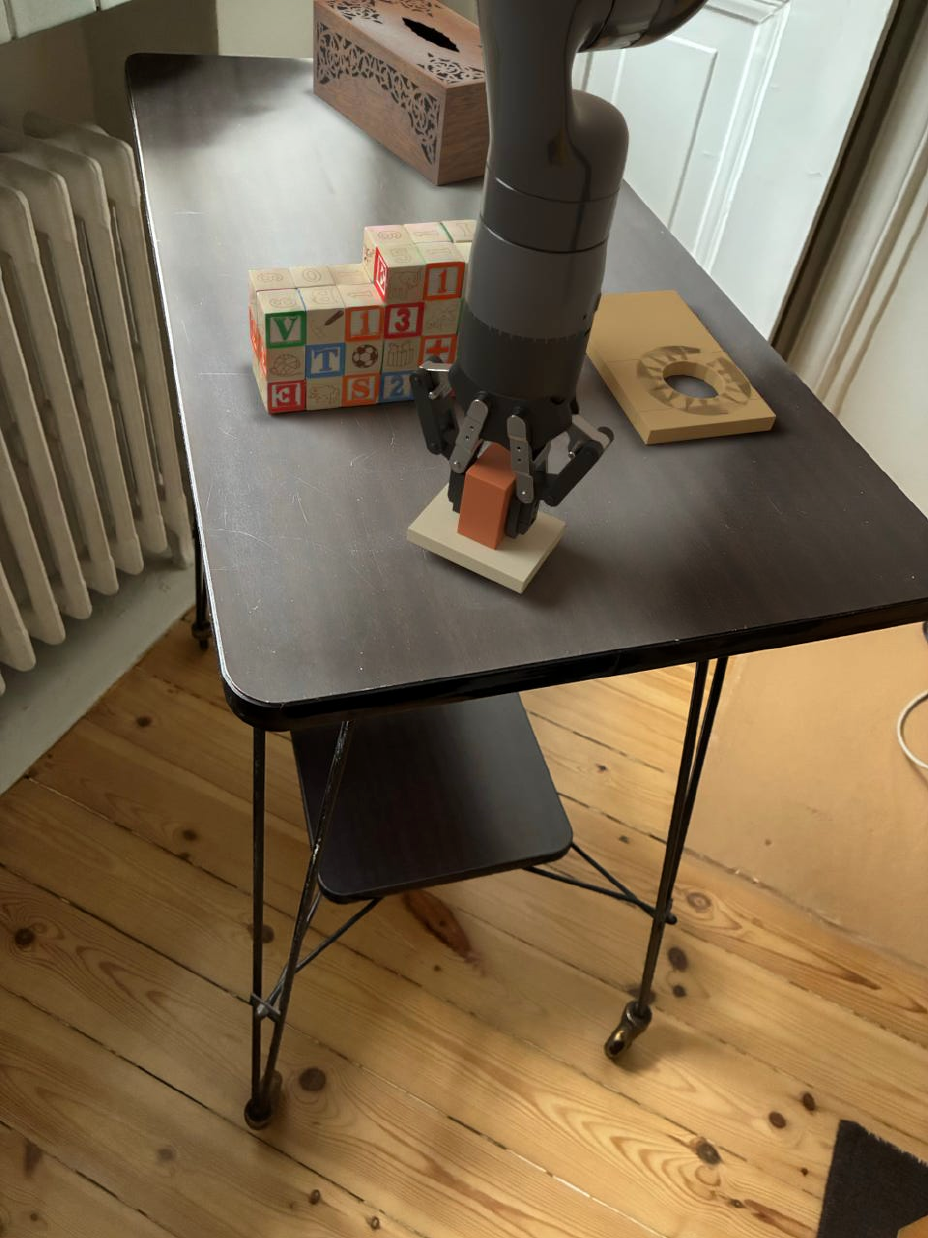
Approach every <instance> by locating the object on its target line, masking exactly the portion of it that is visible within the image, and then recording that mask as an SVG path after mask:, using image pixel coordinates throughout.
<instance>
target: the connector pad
mask: <svg viewBox="0 0 928 1238" xmlns="http://www.w3.org/2000/svg"><path fill="white" fill-rule="evenodd" d="M477 458H478V459H477V460H476V462H475V463H474V464H473V465H472V466H471V467H470V468H469V470H468V471H467V472H466V477H465V483H464V490H463V496H462V503H461V509H460V514H458V513H456V512H454V511H453V510H452V509H453V503H451V502H449V499H448V495H447V494H448V487H449V482H448V483H447V484H446V485H445V486H444V487H443V488H442V489H441V490H440V492H439V493H437V495H436V496H435V497H434V498H433V499H432V501H431V502H430V503H428V505H427V506H426V507H425V508H424V509H423V510H422V512H421V513H420V514H419V515H418V516H417V517H416V518H415V520H414V521H413V522H412V523H411V524H410V525H409V526H408V527H407V537H406V541H408V542H410V543H412V544H414V545H417V546H419V547H421V548H422V549H425V550H427V551H428V552H429V551H430V552H431V553H433V554H436V555H437V556H440V557H442V558H444V559H446V560H449V562H450V561H451V562H453V563H455V564H457V565H459V566H461V567H462V568H463V567H464V568H466V569H468V570H469V571H472V572H474V573H476V574H478V575H480V576H483V577H485V578H486V579H489V580H491V581H493V582H495V583H498V584H500V585H501V586H503V587H506V588H508V589H510V590H512V591H514V592H517V593H518V594H523V592H524V591H525V589H526V588H527V587H528V585H529V584H530V582H531V581H532V580H533V578H534V577H535V575H536V574H537V573H538V571H539V570H540V568H541V567H542V565H543V564H544V562H545V561H546V560H547V559H548V557H549V555H550V554H551V553H552V551H554V549H555V547H556V546H557V545H558V543H559V541H561V539H562V538H563V536H564V533H565V530H566V525H567V522H565V521H563V520H560V519H558V518H556V517H554V516H551V515H549V514H548V513H545V512H543V511H541V510H538V513H537V517H536V520H535V521H534V523H533V524H532V525H531V527H530V528H529V529H528V531H527V532H526V533H525V534H524V535H522V534H519V535H518V536H517V537H516V538H515V539H513V538H510V537H508V536H506V535H505V531H506V526H507V521H508V516H509V511H510V507H511V502H512V497H513V496H514V495H515V494H516V475H515V473H514V472H512V469H511V451H508V450H507V449H506V448H504V447H503V446H501V445H500V444H498V443H494V442H490V445H489V446H488V447H487V448H486V449H485V450H484V451H483V452H482V453H481V455H480V456H478V457H477Z"/></svg>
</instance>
